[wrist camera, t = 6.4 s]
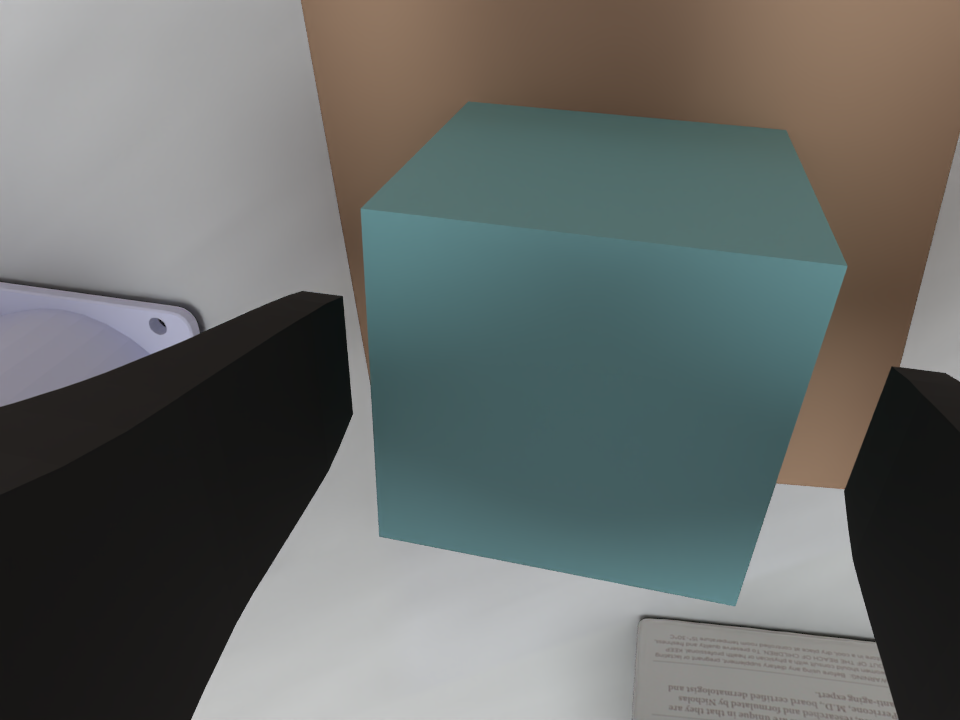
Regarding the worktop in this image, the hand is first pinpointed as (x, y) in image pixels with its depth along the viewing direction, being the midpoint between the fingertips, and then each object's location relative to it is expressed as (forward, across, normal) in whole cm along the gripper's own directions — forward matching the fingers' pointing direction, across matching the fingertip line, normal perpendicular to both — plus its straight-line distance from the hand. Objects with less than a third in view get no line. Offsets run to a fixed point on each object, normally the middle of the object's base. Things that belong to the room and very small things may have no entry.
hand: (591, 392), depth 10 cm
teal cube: (+4, 0, 0) cm, 4 cm away
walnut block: (+8, 0, 0) cm, 8 cm away
